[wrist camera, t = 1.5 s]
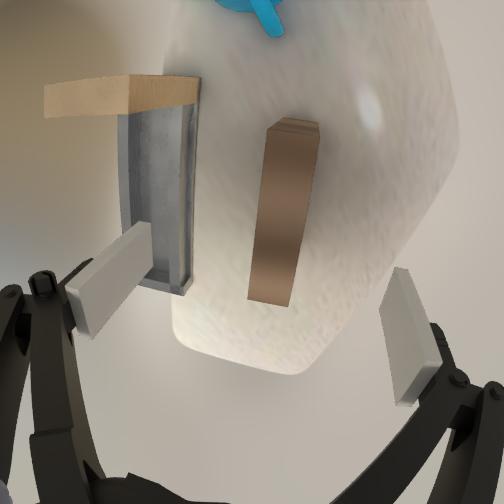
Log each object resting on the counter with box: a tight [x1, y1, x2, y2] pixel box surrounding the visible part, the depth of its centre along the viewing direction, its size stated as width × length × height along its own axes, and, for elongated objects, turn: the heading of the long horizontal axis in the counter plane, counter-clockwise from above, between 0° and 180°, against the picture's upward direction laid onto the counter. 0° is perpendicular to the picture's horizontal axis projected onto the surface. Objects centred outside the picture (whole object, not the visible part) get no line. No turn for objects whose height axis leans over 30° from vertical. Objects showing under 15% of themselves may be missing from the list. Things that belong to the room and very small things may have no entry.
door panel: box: [247, 118, 320, 307], centre depth 24 cm, size 12×3×10 cm, turn 174°
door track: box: [44, 75, 201, 296], centre depth 26 cm, size 22×7×12 cm, turn 174°
